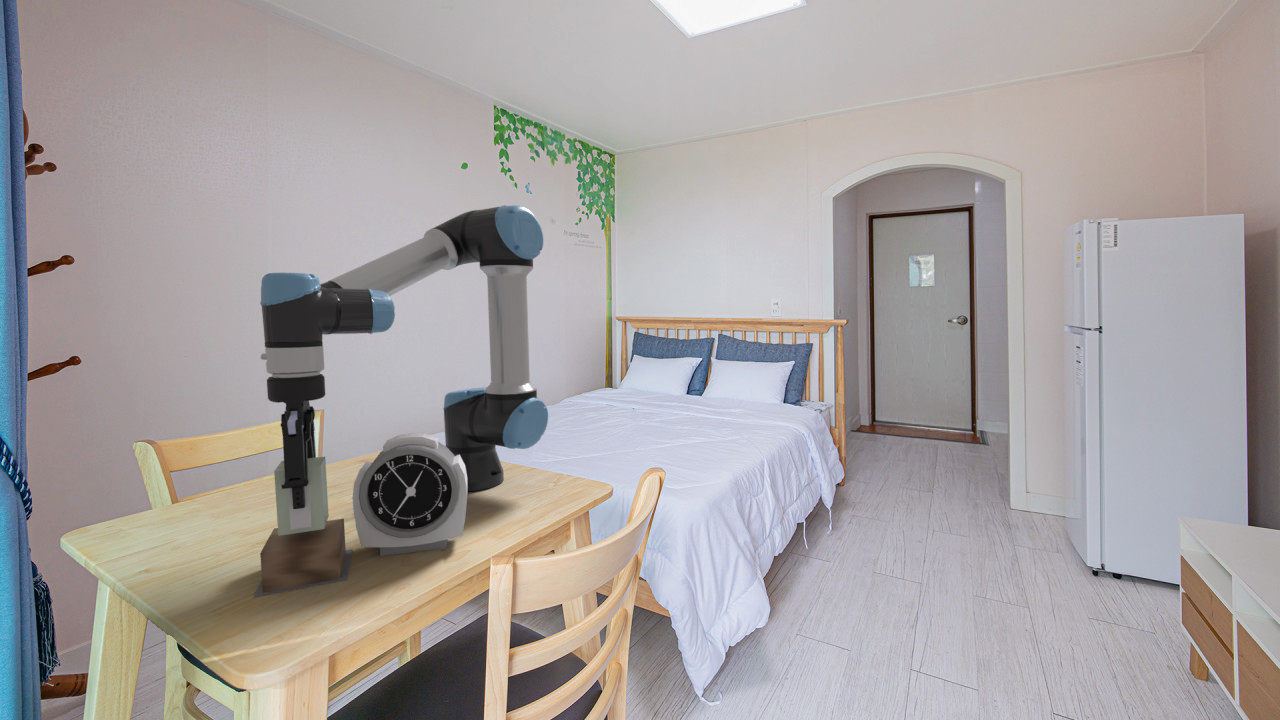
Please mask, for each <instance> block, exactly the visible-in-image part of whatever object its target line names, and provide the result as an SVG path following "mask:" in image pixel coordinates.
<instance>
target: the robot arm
mask: <svg viewBox="0 0 1280 720" xmlns="http://www.w3.org/2000/svg"><path fill="white" fill-rule="evenodd" d="M542 229H543V228H542V227H541V224H540V222H539V220H538V219H537V218H536V216H535V214H534V213H533V212H532V211H531V210H529V209H528V208H526V207H524V206H523V205H514V204H513V205H500V206H495V207H490V208H483V209H475V210H469V211H466V212H464V213H460V214H459V215H456V216H454V217H452V218H450V219H448V220H446V221H444V222H442V223H441V224H438V225H436V226H434V227H432V228H430V229H428V230H426V231H425V233H424V235H423V237H422V238H419V239H417V240H416V241H413V242H411V243H409V244H406V245H404V246H402V247H399V248H397V249H396V250H393V251H391V252H389V253H387V254H385V255H382V256H380V257H378V258H376V259H374V260H372V261H369V262H367V263H364V264H362V265H361V266H358V267H356V268H353V269H351V270H349V271H346V272H345V273H343V274H340V275H339V276H336V277H333V278H331V279H329V280H328V281H326V282H322V283H320V279H319V277H318V276H317V275H316V274H313V273H303V272H271V273H266V274H265V275H264V276H263V277H262V279H261V286H260V303H259V304H260V306H261V313H262V324H263V326H262V327H263V337H264V348H265V349H264V350H265V351H264V353H261V354H260V359H261V360H263V361H266V362H265V368H266V369H265V370H266V373H267V374H269V375H271V376H269V377H268V378H267V379H266V389H267V391H266V392H267V400H268V401H269V402H272V403H277V404H279V403H284V404H285V410H284V413H282V414H281V415H280V416H281V417H280V419H281V420H280V421H281V423H280V427H281V435H282V447H283V448H282V449H283V461H284V471H285V482H284V485H281V486H282V489H287V488H288V496H289V512H290V528H291V530H292V529H299V528H306V527H312V515H311V498H310V484H308V483H309V481H308V463H307V458H316V457H317V452H316V437H315V421H314V420H315V417H316V412H315V411H316V410H315V408H314V405H313V406H311V405H310V401H316V400H320V399H323V398H325V396H326V384H325V383H326V382H325V375H324V374H322V373H321V372H322V371H324V370H325V356H324V355H325V353H324V346H323V343H324V342H323V335H325V336H327V335H347V334H348V335H349V334H351V335H352V334H353V335H354V334H355V335H356V334H357V335H358V334H370V335H372V334H375V333H385V332H387V331H388V330H390V328H392V326H393V323H394V321H395V316H396V314H395V308H396V307H395V304H394V301H393V299H392V297H391V296H393V295H395V294H397V293H399V292H401V291H402V290H404V289H406V288H408V287H410V286H412V285H414V284H416V283H418V282H420V281H421V280H423V279H425V278H427V277H429V276H432V275H433V274H435V273H437V272H439V271H440V270H444V271H445V270H446V271H451V270H453V269H454V268H456V267H459V266H463V265H466V264H472V263H479V269H480V270H481V271H482V273H484V274H485V276H486V278H487V279H486V281H487V301H488V302H487V306H488V307H487V310H488V331H489V333H488V334H489V357H490V358H489V360H490V364H489V365H490V384H489V385H488V386H484V387H476V388H467V389H460V390H454V391H450V392H447V393H446V394H445V396H444V403H443V421H444V440H445V446H446V447H447V448H448V449H449V450H450V451H451V452H452V453H453V454H454V456H457V455H459V454H460V456H461V458H462V460H463V462H464V464H465V467H466V473H467V492H474V491H481V490H486V489H490V488H492V487H495V486H498V485H500V484H501V483H503V481H504V480H505V479H504V476H505V475H504V473H505V472H504V468H503V466H502V463H501V459H500V456H499V454H498V451H497V448H496V446H497V447H504V448H507V449H512V450H513V449H514V450H515V449H516V450H517V449H519V450H525V449H529V448H531V447H533V446H535V445H536V444H537V443H538V442H539V441H540V440H541V438H542V436H544V434H545V432H546V430H547V427H548V422H549V411H548V407H547V406H546V405H545V402H544V401H543V400H541V399H540V398H538V393H537V391H538V390H537V387H536V385H534V384H533V383H532V381H531V380H530V379H531V378H530V349H529V346H530V345H529V318H528V317H529V316H528V314H529V313H528V311H529V309H528V285H527V284H528V282H527V280H528V279H527V277H528V274H530V272H532V271H533V269H534V259H536V258H537V257H538V256H539V255H540V254H541V251H542V250H543V247H544V233H543V230H542Z"/></svg>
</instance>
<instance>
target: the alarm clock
mask: <svg viewBox="0 0 1280 720" xmlns="http://www.w3.org/2000/svg"><path fill="white" fill-rule="evenodd" d="M351 497H352V508H353V509H352V510H353V517H354V523H355V528H356V533H357V537H358V541H359V544H360V548H361V547H363V548H379V553H380V554H379V555H380V557H382V556H390V555H398V554H407V553H415V552H423V551H432V550H437V549H438V550H441V551H446V550H447V546H448V541H449V540H450V539H454V538H458V537H461V536H463V533H464V527H465V521H466V514H467V501H468V491H467V473H466V467H465V464H464V462H463V460H462V458H461V456H460V454H459V455H457V456H454V454H453V453H452V452H451V451H450V450H449V449H448V448H447V447H446V445H444V444H442V443H441V442H440V441H439V438H438V437H437V436H434V435H432V434H428V433H424V432H423V433H421V432H420V433H416V432H415V433H412V432H411V433H406V434H398V435H396V436H393V437H392V438H389V439H387V440H386V441H385V443H384V444H383V446H382V450H381V451H380V452H379V454H378V455H377V456H376V457H375V459H374V460H373V462H372V461H368V460H366V461H365V463H364V464H363V465H362V466H361V468H360V469H359V471H358V473H357V475H356V478H355V480H354V482H353V489H352V496H351Z"/></svg>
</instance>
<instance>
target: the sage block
mask: <svg viewBox="0 0 1280 720" xmlns="http://www.w3.org/2000/svg"><path fill="white" fill-rule="evenodd" d="M326 460H327V459H326V456H319V457H317V456H316V458H307V463H308V481H309V483H308V484H310V498H311V515H312V527H306V528H299V529H292V530H291V528H290V512H289V496H288V488H287V489H282V486H281V485H284V482H285V471H284V460H282V461H281V462H280V463H279V464H278V465H277V466H276V468H275V469H274V470H273V473H274V475H273V476H274V488H275V490H274V492H275V504H276V518H277V519H276V520H277V528H278V536H281V535H287V534H294V533H301V532H308V531H314V530H321V529H325V525H326V522H327V521H328V518H329V501H328V482H327V481H328V480H327V465H326Z"/></svg>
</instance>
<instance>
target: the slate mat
mask: <svg viewBox="0 0 1280 720" xmlns="http://www.w3.org/2000/svg"><path fill="white" fill-rule="evenodd" d="M352 555H353V548H350V549H346V553H345V559H344V564H343V569H342V574H341V578H340V579H334V580H329V581H323V582H318V583H313V584H307V585H302V586H296V587H291V588H285V589H280V590H274V591H269V592H264V593H263V587H262V579H261V581H260V582H259V584H258V587H257V589H256V591H255V592H254V595H253V597H252V598H253V599H254V598H259V597H263V596H265V597H266V596H268V595H274V594H275V595H276V594H279V593H285V592H286V593H287V592H291V591H296V590H303V589H307V588H312V587H319V586H323V585H328V584H335V583H340V582H345V581H348V579H349V572H350V567H351V561H352Z"/></svg>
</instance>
